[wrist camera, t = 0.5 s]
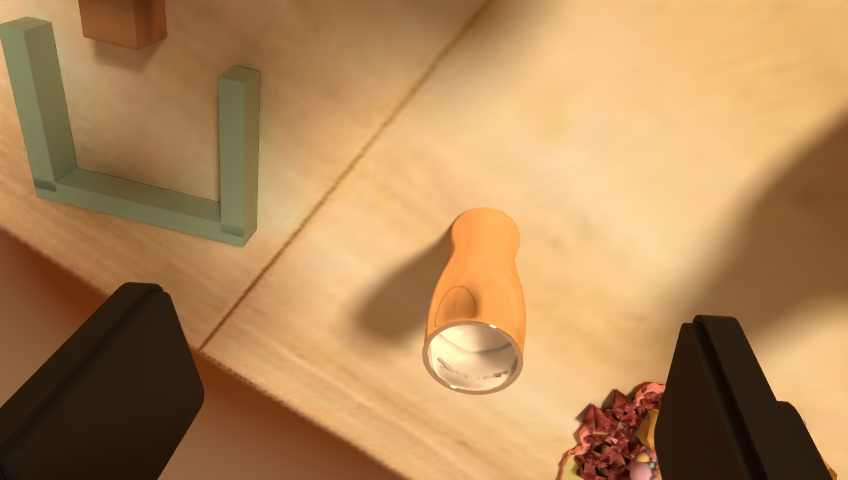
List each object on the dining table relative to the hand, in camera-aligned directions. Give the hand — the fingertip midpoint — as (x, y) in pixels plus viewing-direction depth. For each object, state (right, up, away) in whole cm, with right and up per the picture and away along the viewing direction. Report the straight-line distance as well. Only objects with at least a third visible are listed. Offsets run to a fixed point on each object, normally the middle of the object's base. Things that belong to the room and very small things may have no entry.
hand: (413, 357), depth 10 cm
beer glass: (+6, +2, +39) cm, 39 cm away
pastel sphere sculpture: (+28, -21, +51) cm, 62 cm away
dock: (-23, +12, +38) cm, 46 cm away
